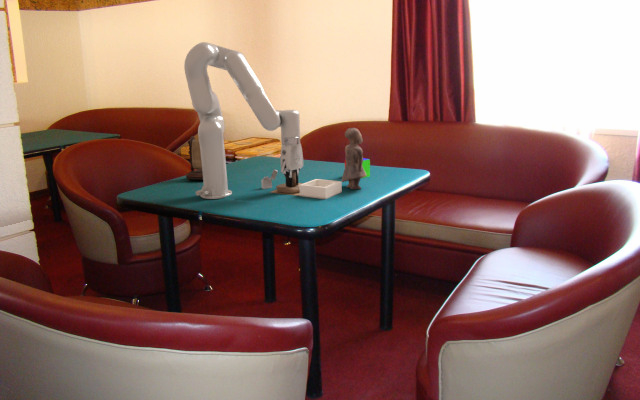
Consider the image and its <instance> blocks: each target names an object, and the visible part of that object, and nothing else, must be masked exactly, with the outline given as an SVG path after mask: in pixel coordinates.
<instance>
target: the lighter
mask: <svg viewBox="0 0 640 400" xmlns="http://www.w3.org/2000/svg"><path fill="white" fill-rule="evenodd" d="M278 172H279V171H278V170H277V169H273V170H272V173H271V175H270V176H264V177H263V178H262V179H261V181H260V182H261V189H262V190H265V189H272V188H273V181H275V180H276V178H277V175H278Z"/></svg>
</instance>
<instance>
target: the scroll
mask: <svg viewBox="0 0 640 400" xmlns="http://www.w3.org/2000/svg"><path fill="white" fill-rule="evenodd" d="M187 144H188V151H187V152H188V155H189V164H190V170H191V171H189V172H188V173H186V174H185V177H186V179H187V181H188V182H190V180H203V172H202V160H201V151H200V143H199V139H196V138H195V136H194V135H191V136H190V138H189V140H188V141H187Z"/></svg>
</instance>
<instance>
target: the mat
mask: <svg viewBox="0 0 640 400" xmlns="http://www.w3.org/2000/svg"><path fill="white" fill-rule="evenodd" d="M270 193H273V194H280V195H288V196H296V197H298V196H300V192H298V193H284V192H279V191H277V190H276V189H274V190H272V191H270Z"/></svg>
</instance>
